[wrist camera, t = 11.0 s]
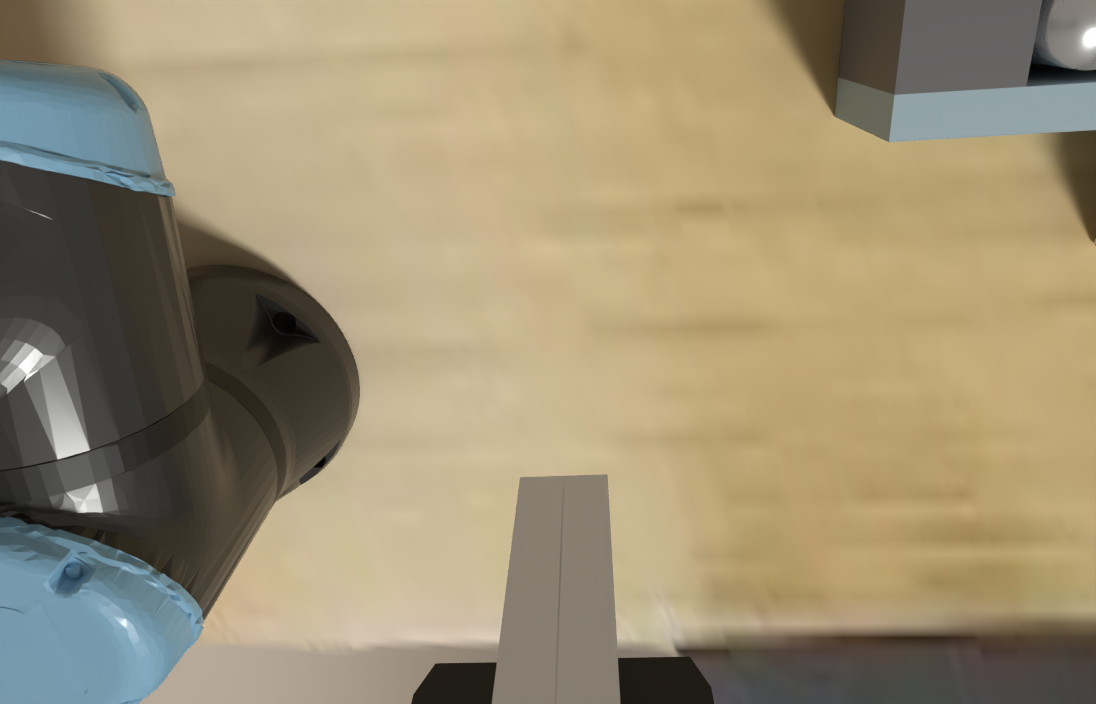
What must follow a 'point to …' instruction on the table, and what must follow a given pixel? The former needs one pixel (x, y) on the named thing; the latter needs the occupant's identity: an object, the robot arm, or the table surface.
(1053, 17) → the grey metal peg
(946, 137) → the socket block
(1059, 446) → the table surface
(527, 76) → the table surface
